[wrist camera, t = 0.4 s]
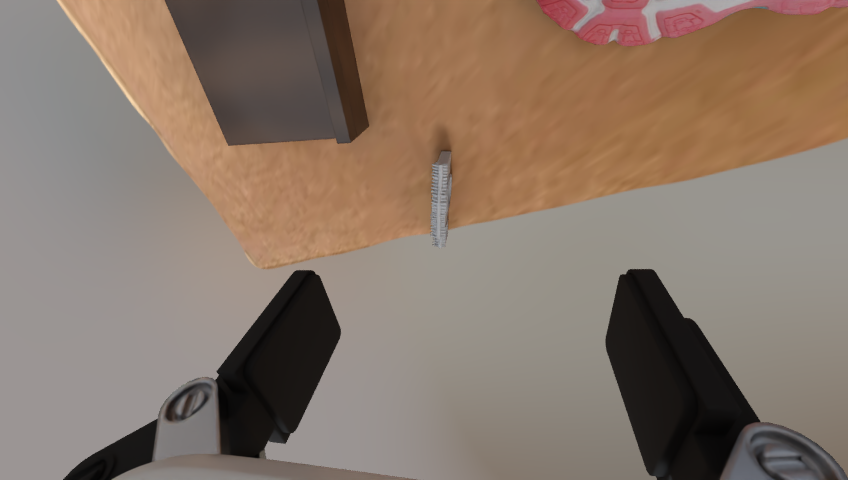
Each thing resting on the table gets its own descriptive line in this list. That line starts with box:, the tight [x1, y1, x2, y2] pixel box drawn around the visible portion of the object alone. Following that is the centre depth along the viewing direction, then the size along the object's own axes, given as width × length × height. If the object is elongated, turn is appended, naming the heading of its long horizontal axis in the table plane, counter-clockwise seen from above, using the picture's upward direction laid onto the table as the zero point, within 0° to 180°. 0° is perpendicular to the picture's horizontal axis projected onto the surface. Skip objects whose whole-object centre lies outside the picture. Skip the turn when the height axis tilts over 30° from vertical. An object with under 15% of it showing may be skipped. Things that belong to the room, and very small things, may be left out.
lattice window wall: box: [430, 151, 452, 248], centre depth 40 cm, size 12×2×6 cm, turn 179°
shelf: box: [165, 0, 369, 146], centre depth 31 cm, size 24×16×6 cm, turn 7°
